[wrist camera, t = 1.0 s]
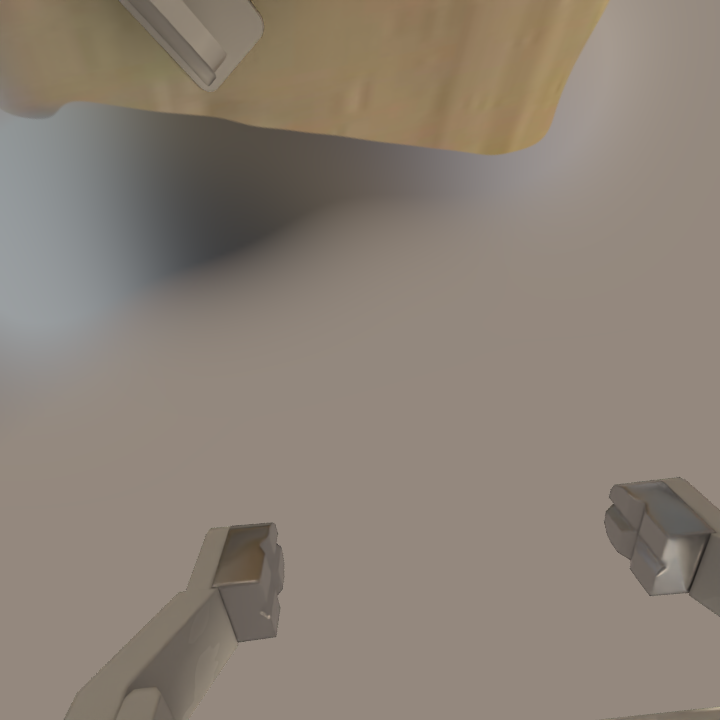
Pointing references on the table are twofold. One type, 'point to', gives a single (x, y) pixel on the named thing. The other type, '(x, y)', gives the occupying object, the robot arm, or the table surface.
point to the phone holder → (201, 33)
